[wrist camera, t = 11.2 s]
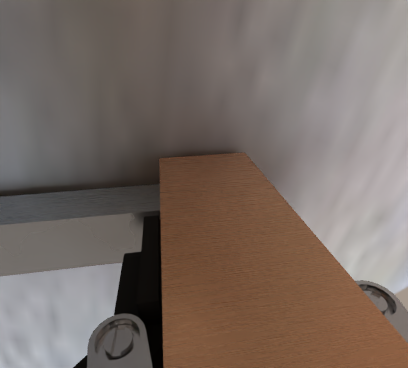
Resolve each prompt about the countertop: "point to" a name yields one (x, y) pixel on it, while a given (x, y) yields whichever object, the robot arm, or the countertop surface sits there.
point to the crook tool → (213, 267)
